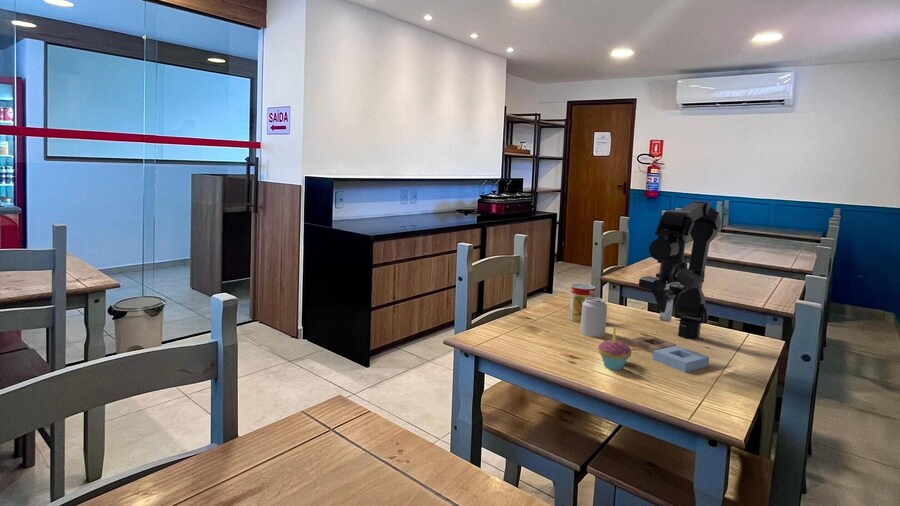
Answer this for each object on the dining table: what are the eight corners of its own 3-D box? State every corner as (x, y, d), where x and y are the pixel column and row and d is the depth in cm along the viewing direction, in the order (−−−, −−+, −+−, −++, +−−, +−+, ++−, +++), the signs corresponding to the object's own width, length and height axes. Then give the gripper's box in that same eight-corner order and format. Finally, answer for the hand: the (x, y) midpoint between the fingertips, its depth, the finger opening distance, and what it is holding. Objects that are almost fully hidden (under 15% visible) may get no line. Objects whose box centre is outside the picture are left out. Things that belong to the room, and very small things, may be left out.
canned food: (594, 323, 181) (597, 289, 179) (571, 322, 181) (574, 288, 179) (589, 317, 189) (592, 283, 187) (567, 316, 189) (569, 283, 187)
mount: (649, 343, 162) (650, 335, 162) (675, 352, 155) (676, 344, 154) (629, 347, 158) (630, 339, 157) (654, 357, 150) (655, 348, 150)
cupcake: (624, 375, 136) (629, 330, 134) (592, 367, 141) (595, 324, 139) (633, 365, 144) (637, 322, 142) (601, 358, 148) (605, 316, 146)
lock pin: (664, 317, 152) (667, 291, 151) (675, 321, 149) (678, 294, 148) (655, 319, 150) (658, 292, 149) (666, 322, 147) (669, 295, 146)
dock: (675, 357, 151) (676, 345, 150) (707, 369, 143) (709, 357, 142) (651, 362, 146) (653, 350, 145) (684, 376, 137) (685, 363, 137)
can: (605, 341, 163) (608, 303, 161) (580, 338, 164) (583, 301, 162) (603, 333, 170) (606, 297, 168) (579, 331, 171) (582, 295, 169)
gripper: (675, 263, 135) (668, 323, 138) (720, 260, 145) (713, 316, 147) (640, 256, 145) (634, 312, 147) (684, 253, 154) (678, 306, 157)
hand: (666, 311), depth 149 cm, fingers closed on lock pin, 3 cm apart
